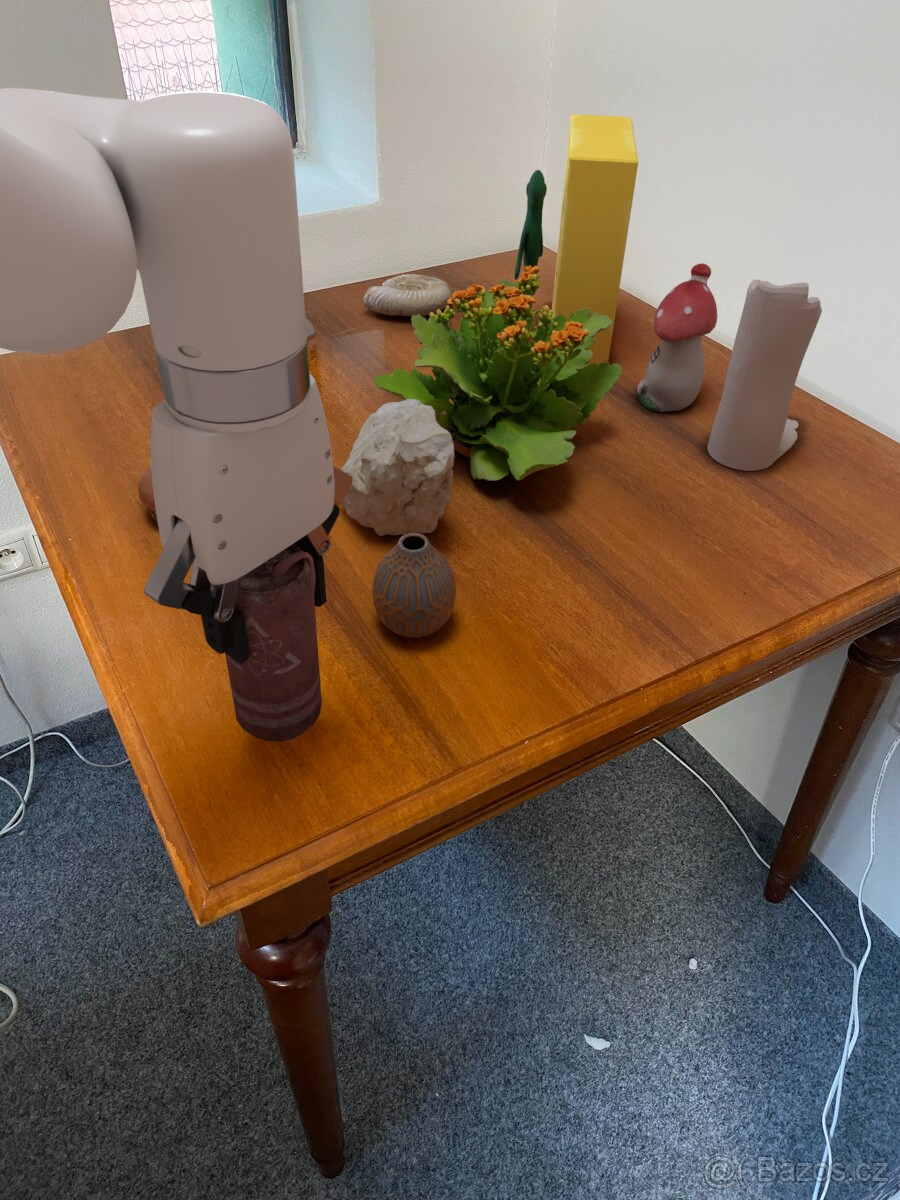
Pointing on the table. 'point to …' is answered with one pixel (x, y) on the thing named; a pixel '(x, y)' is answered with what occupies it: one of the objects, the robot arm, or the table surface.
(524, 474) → the potted flower
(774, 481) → the table surface
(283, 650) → the can
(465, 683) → the table surface
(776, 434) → the candle
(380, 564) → the vase
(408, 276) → the fossil
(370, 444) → the stone
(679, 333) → the decorative ornament
